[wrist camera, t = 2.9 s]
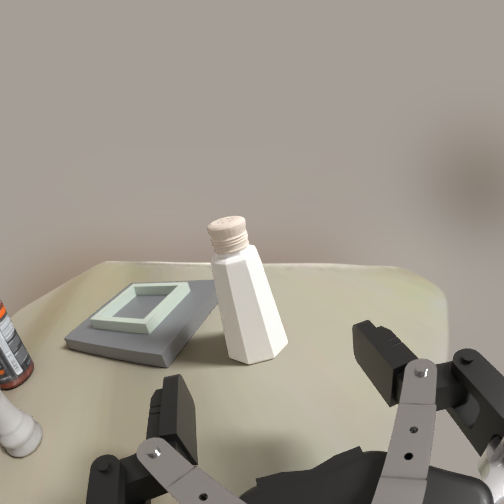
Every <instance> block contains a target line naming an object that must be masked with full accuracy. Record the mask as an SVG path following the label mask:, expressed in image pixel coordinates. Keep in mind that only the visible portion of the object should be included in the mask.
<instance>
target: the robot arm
mask: <svg viewBox="0 0 504 504" xmlns="http://www.w3.org/2000/svg"><path fill="white" fill-rule="evenodd" d="M352 332H353V349H354V355H355V358H356V360H357V362H358V364H359V365H360V367H361V368H362V369H363V371H364V372H365V373H366V375H367V376H368V378H369V379H370V380H371V382H372V383H373V385H374V386H375V387H376V389H377V390H378V392H379V393H380V394H381V396H382V397H383V398H384V400H385V401H386V403H387V404H388V405H389V407H391V406H394V405H396V404H398V409H397V414H396V419H395V423H394V428H393V432H392V436H391V440H390V444H389V448H388V452H383V451H366V452H362V450H361V448H360V446H358V447H356V448H353V449H351V450H348V451H346V452H343V453H340V454H338V455H335V456H333V457H332V458H330V459H328V460H327V461H325V462H323V463H322V464H320V465H318V466H317V467H315V468H313V469H311V470H304V471H293V472H281V473H277V474H274V475H270V476H266V477H261V478H257V479H256V482H257V486H255V487H253V488H251V489H250V490H248V491H246V492H245V493H244V494H242V495H241V496H240V497H239V498H238V497H237V496H235V495H234V494H233V493H231V492H230V491H228V490H227V489H226V488H224V487H223V486H222V485H220V484H219V483H218V482H217V481H215V480H214V479H213V478H211V477H210V476H209V475H208V474H206V473H205V472H204V471H203V470H202V469H200V468H199V467H198V466H193V465H198V459H197V441H196V418H195V405H194V401H193V398H192V396H191V394H190V392H189V390H188V388H187V386H186V384H185V382H184V380H183V378H182V376H181V375H180V374H177V375H173V376H168V377H164V380H163V389H158V390H156V391H155V393H154V394H153V396H152V397H151V402H150V410H149V418H148V427H147V436H146V440H145V441H144V442H142V443H141V444H140V445H139V447H138V449H137V453H136V454H134V455H131V456H129V457H126V458H123V459H120V460H118V459H117V458H116V457H115V456H113V455H102V456H100V457H98V458H97V459H96V460H95V461H94V462H93V463H92V465H91V469H90V476H89V483H88V491H87V499H86V504H151V499H152V498H155V497H158V496H160V495H163V494H166V493H168V492H169V493H170V494H171V495H172V496H173V497H174V498H175V499H176V500H177V501H178V502H179V503H180V504H498V503H499V502H500V501H502V500H503V499H504V377H503V375H502V374H501V373H499V371H497V370H496V369H495V368H494V367H493V366H492V365H491V364H490V363H489V362H488V361H487V360H486V359H485V358H484V357H483V356H482V355H481V354H480V353H479V352H477V351H476V350H473V349H462V350H459V351H457V352H456V353H455V354H454V356H453V361H450V362H446V363H441V364H434V363H433V362H432V361H430V360H428V359H418V358H417V357H416V356H415V355H414V354H413V352H412V351H411V350H410V349H409V348H408V347H407V346H406V345H405V344H404V343H403V342H401V340H400V339H399V338H398V337H396V335H395V334H394V333H393V332H392V331H391V330H389V329H387V328H384V327H382V326H380V327H377V328H376V327H375V326H374V325H373V324H372V323H371V322H370V321H369V320H366V321H363V322H360V323H358V324H355V325H353V327H352ZM443 409H446V410H447V412H448V413H449V414H450V416H451V417H452V418H453V420H454V421H455V422H456V423H457V425H458V426H459V428H460V429H461V430H462V432H463V433H464V434H465V436H466V437H467V439H468V440H469V441H470V443H471V444H472V445H473V447H474V448H475V450H476V451H477V452H478V454H479V455H480V457H481V458H480V460H479V463H478V470H479V472H480V475H481V480H480V479H477V478H475V477H471V476H466V475H463V474H459V473H455V472H451V471H447V470H443V469H440V468H436V467H433V466H430V465H429V462H430V456H431V450H432V443H433V435H434V427H435V418H436V411H439V410H443Z"/></svg>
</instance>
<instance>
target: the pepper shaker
mask: <svg viewBox="0 0 504 504" xmlns="http://www.w3.org/2000/svg"><path fill="white" fill-rule="evenodd" d="M245 224H246V222H245V219H244V218H243V217H240V216H229V217H225V218H221V219H219V220H216V221H214V222H212V223H211V224H209V226H208V227H207V231H208V233H209V235H210V236H211V241H212V245H213V246H214V252H215V254H214V255H212V257H211V265H212V272H213V278H214V283H215V288H216V294H217V299H218V304H219V309H220V315H221V320H222V325H223V330H224V335H225V340H226V345H227V349H228V354H229V358H231V359H234V360H237V361H240V362H243V363H246V364H249V365H250V364H254V363H258V362H262V361H266V360H270V359H273V358H275V357H276V356H277V355H278V353H279V352H280V351H281V350H282V349H283V348H284V347H285V346H286V345H287V343H288V340H287V337H286V334H285V331H284V328H283V325H282V322H281V319H280V316H279V313H278V310H277V307H276V304H275V301H274V298H273V295H272V292H271V289H270V286H269V283H268V280H267V277H266V274H265V271H264V268H263V265H262V262H261V260H260V257H259V255H258V252H257V250H256V248H255V246H254V245H249V241H248V239H247V238H248V236H247V231H246V229H245Z"/></svg>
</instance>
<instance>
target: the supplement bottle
mask: <svg viewBox="0 0 504 504" xmlns="http://www.w3.org/2000/svg"><path fill="white" fill-rule="evenodd" d="M33 368H34V363H33V361H32V359H31V357H30V355H29V353H28V352H27V350H26V348H25V346H24V345H23V343H22V341H21V339H20V337H19V335H18V333H17V332H16V330H15V328H14V326H13V324H12V322H11V320H10V318H9V316H8V313H7V312H6V309H5V307H4V305H3V303H2V301H1V300H0V387H1V388H3V389H10V388H14V387H17V386H18V385H20V384H22V383H23V382H24V381H25V380H26V379H27V378H28V377H29V376H30V374H31V373H32V371H33Z"/></svg>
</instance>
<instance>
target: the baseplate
mask: <svg viewBox="0 0 504 504" xmlns="http://www.w3.org/2000/svg"><path fill="white" fill-rule="evenodd" d="M217 303H218V299H217V294H216V288H215V283H214V280H198V281H175V282H149V283H131V284H129V285H128V286H127V287H126V288H124V289H123V290H122V291H121V292H119V293H118V294H117V295H116V296H114V297H113V298H112V299H111V300H109V301H108V302H107V303H106V304H104V305H103V306H102V307H101V308H100V309H98V310H97V311H96V312H95V313H93V314H92V315H91V316H90V317H89V318H87V319H86V320H85V321H84V322H83V323H81V324H80V325H79V326H78V327H77V328H75V329H74V330H73V331H72V332H71V333H69V334H68V335H67V336H66V337H65V338H64V339H65V341H66V343H67V345H68V347H69V348H70V349H73V350H77V351H81V352H86V353H90V354H95V355H99V356H104V357H109V358H114V359H119V360H124V361H129V362H135V363H140V364H146V365H152V366H158V367H165V368H168V367H169V365H170V364H171V363H172V361H173V360H174V359H175V358H176V356H177V355H178V354H179V352H180V351H181V350H182V348H183V347H184V346H185V345H186V343H187V342H188V341H189V339H190V338H191V337H192V336H193V334H194V333H195V332H196V330H197V329H198V328H199V326H200V325H201V324H202V323H203V321H204V320H205V319H206V317H207V316H208V315H209V314H210V312H211V311H212V310H213V308H214V307H215V306H216V304H217Z"/></svg>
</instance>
